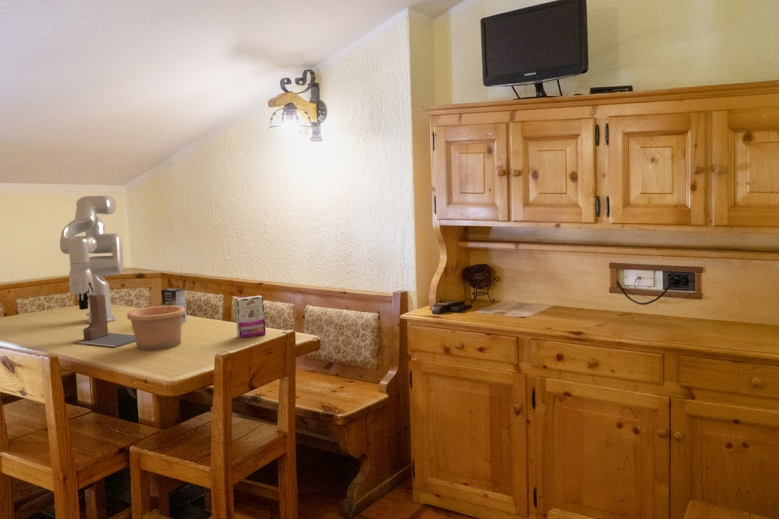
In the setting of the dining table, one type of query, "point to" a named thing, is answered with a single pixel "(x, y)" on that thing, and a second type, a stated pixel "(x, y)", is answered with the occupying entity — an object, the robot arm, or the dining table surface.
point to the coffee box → (174, 299)
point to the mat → (110, 340)
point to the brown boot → (97, 318)
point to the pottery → (157, 327)
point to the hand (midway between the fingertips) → (84, 308)
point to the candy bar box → (250, 316)
